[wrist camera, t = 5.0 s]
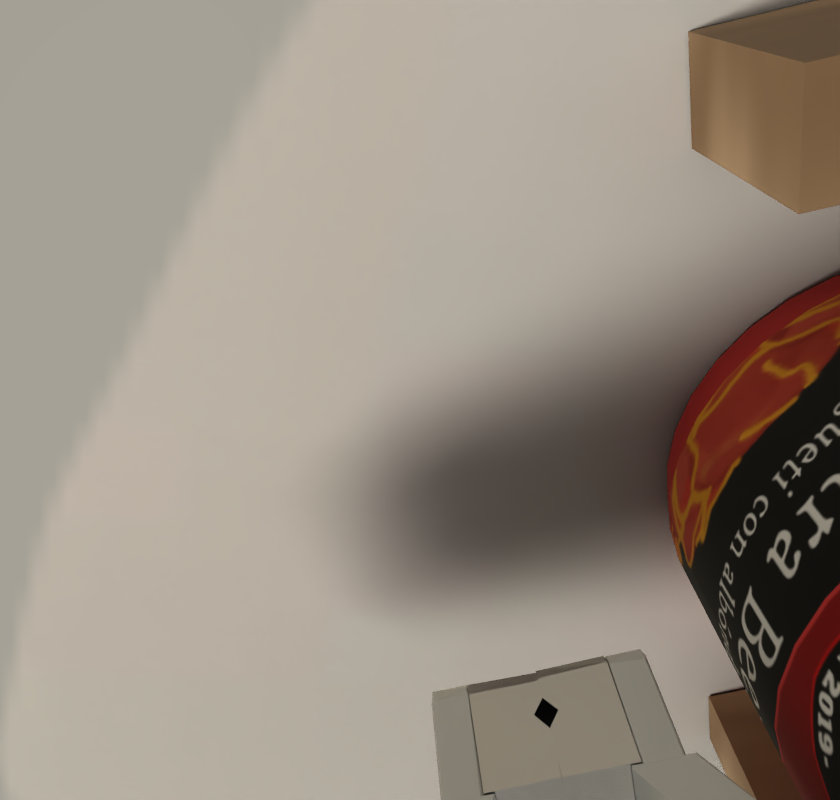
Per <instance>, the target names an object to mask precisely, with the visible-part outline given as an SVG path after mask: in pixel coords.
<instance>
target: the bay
mask: <svg viewBox="0 0 840 800" xmlns="http://www.w3.org/2000/svg"><path fill="white" fill-rule="evenodd" d="M688 35H689V67H690V100H691V133H692V149H694V150H696V151H697V152H699V153H700V154H702V155H704V156H705V157H707V158H709V159H710V160H712V161H713V162H715V163H717V164H718V165H720V166H722V167H723V168H725V169H726V170H728V171H730V172H731V173H733V174H735V175H736V176H738V177H739V178H741V179H743V180H744V181H746V182H747V183H749V184H751V185H752V186H754V187H756V188H757V189H759V190H760V191H762V192H764V193H765V194H767V195H769V196H770V197H772V198H773V199H775V200H777V201H778V202H780V203H782V204H783V205H785V206H786V207H788V208H790V209H791V210H793V211H795V212H796V213H798V214H801V213H806V212H810V211H814V210H819V209H823V208H827V207H832V206H836V205H840V0H815V1H811V2H807V3H803V4H799V5H795V6H791V7H787V8H783V9H779V10H775V11H770V12H766V13H762V14H758V15H754V16H750V17H746V18H742V19H738V20H734V21H729V22H725V23H721V24H717V25H713V26H709V27H705V28H701V29H697V30H693V31H689V32H688ZM709 721H710V739H711V742H712V744H713V746H714V748H715V751H716V753H717V755H718V757H719V760H720V762H721V764H722V766H723V769H724V771H725V773H726V775H727V777H728V778H730V779H731V780H732V781H734V782H735V783H736V784H737V785H739V786H740V787H741V788H743V789H744V790H745V791H746V792H748V793H749V794H750V795H751V796H753V797H754V798H755V799H757V800H802V798H801V796H800V794H799V792H798V790H797V788H796V786H795V784H794V782H793V780H792V778H791V777H790V775H789V773H788V771H787V769H786V767H785V765H784V763H783V761H782V759H781V757H780V755H779V753H778V751H777V749H776V747H775V745H774V743H773V742H772V740H771V738H770V736H769V734H768V732H767V730H766V728H765V726H764V724H763V722H762V720H761V718H760V716H759V714H758V712H757V710H756V708H755V706H754V705H753V703H752V701H751V699H750V697H749V695H748V693H747V691H746V689H745V690H740V691H735V692H730V693H725V694H720V695H715V696H710V697H709Z"/></svg>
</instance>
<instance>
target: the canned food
mask: <svg viewBox="0 0 840 800" xmlns="http://www.w3.org/2000/svg"><path fill="white" fill-rule="evenodd" d="M667 491H668V508H669V520H670V530H671V533H672V537H673V540H674V544H675V547H676V551H677V554H678V558H679V561H680V563H681V564H682V566H683V568H684V570H685V572H686V574H687V576H688V578H689V580H690V582H691V584H692V586H693V588H694V590H695V592H696V594H697V596H698V598H699V599H700V601H701V603H702V605H703V607H704V609H705V611H706V613H707V615H708V617H709V619H710V621H711V623H712V625H713V627H714V629H715V631H716V633H717V635H718V636H719V638H720V640H721V642H722V644H723V646H724V648H725V650H726V652H727V654H728V656H729V658H730V660H731V662H732V664H733V666H734V668H735V670H736V671H737V673H738V675H739V677H740V679H741V681H742V683H743V685H744V687H745V689H746V691H747V693H748V695H749V697H750V699H751V701H752V703H753V705H754V706H755V708H756V710H757V712H758V714H759V716H760V718H761V720H762V722H763V724H764V726H765V728H766V730H767V732H768V734H769V736H770V738H771V740H772V742H773V743H774V745H775V747H776V749H777V751H778V753H779V755H780V757H781V759H782V761H783V763H784V765H785V767H786V769H787V771H788V773H789V775H790V777H791V778H792V780H793V782H794V784H795V786H796V788H797V790H798V792H799V794H800V796H801V798H802V800H840V275H838V276H835V277H832V278H830V279H828V280H827V281H825V282H823V283H821V284H819V285H817V286H815V287H813V288H811V289H809V290H807V291H805V292H803V293H801V294H799V295H797V296H795V297H793V298H791V299H789V300H788V301H786V302H785V303H784V304H782V305H781V306H779V307H778V308H777V309H775V310H774V311H772V312H771V313H770V314H768V315H767V316H766V317H764V318H763V319H761V320H760V321H759V322H757V323H756V324H754V325H753V326H752V327H750V328H749V329H748V330H747V331H746V332H745V333H744V334H743V335H742V336H741V337H740V338H739V339H738V340H737V341H736V342H735V343H734V344H733V345H732V346H731V347H730V348H729V349H728V350H727V351H726V352H725V353H724V354H723V355H722V356H721V357H720V358H719V359H718V360H717V361H716V362H715V363H714V365H713V366H712V368H711V369H710V370H709V372H708V373H707V375H706V376H705V377H704V379H703V380H702V382H701V383H700V384H699V386H698V387H697V389H696V390H695V391H694V393H693V394H692V396H691V398H690V400H689V402H688V404H687V406H686V408H685V410H684V413H683V415H682V417H681V419H680V421H679V423H678V426H677V428H676V430H675V433H674V437H673V442H672V446H671V450H670V455H669V459H668V464H667Z"/></svg>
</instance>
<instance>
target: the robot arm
mask: <svg viewBox="0 0 840 800" xmlns="http://www.w3.org/2000/svg"><path fill="white" fill-rule="evenodd" d="M432 711H433V722H434V732H435V742H436V753H437V763H438V774H439V784H440V795H441V800H757V799H755V798H754V797H753V796H751V795H750V794H749V793H748V792H746V791H745V790H744V789H743V788H741V787H740V786H739V785H737V784H736V783H735V782H734V781H732V780H731V779H730V778H728V777H727V776H726V775H725V774H723V773H722V772H721V771H719V770H718V769H717V768H716V767H714V766H713V765H712V764H711V763H709V762H708V761H707V760H705V759H704V758H703V757H702V756H700V755H699V754H698V753H693V754H685V751H684V749H683V746H682V744H681V742H680V739H679V737H678V734H677V732H676V729H675V727H674V724H673V722H672V719H671V717H670V715H669V712H668V710H667V707H666V705H665V702H664V700H663V697H662V695H661V692H660V690H659V687H658V685H657V683H656V680H655V678H654V675H653V673H652V670H651V668H650V665H649V663H648V660H647V658H646V656H645V654H644V653H643V652H642V651H641V650H640V649H638V650H633V651H629V652H624V653H620V654H615V655H610V656H606V657H605V658H604V656H601V657H597V658H592V659H588V660H583V661H579V662H574V663H570V664H566V665H561V666H557V667H552V668H548V669H543V670H539V671H536V673H532V674H527V675H521V676H516V677H510V678H504V679H499V680H493V681H488V682H482V683H477V684H471V685H466V686H461V687H456V688H451V689H446V690H441V691H436V692H433V697H432Z"/></svg>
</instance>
